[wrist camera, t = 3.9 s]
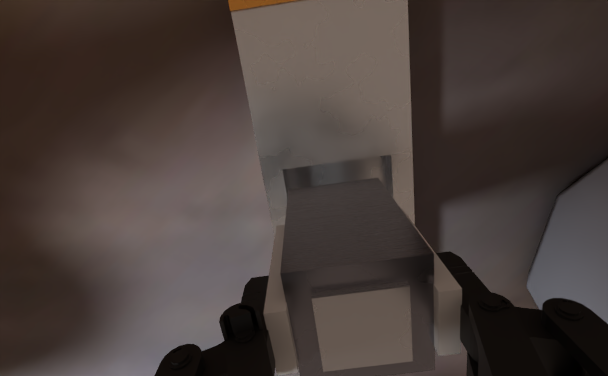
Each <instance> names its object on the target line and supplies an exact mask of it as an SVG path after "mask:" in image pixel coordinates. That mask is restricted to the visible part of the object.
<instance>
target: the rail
mask: <svg viewBox="0 0 608 376" xmlns="http://www.w3.org/2000/svg"><path fill="white" fill-rule="evenodd" d="M228 3H229V8H230V11H231V15H232V20H233V25H234V30H235V35H236V40H237V46H238V51H239V56H240V61H241V66H242V71H243V77H244V82H245V87H246V92H247V97H248V103H249V108H250V113H251V118H252V123H253V128H254V134H255V139H256V144H257V149H258V154H259V159H260V165H261V170H262V175H263V180H264V185H265V191H266V196H267V201H268V206H269V211H270V216H271V222H272V227H273V232H274V237H275V232H276V226H277V225H284V224H285V218H286V208H287V197H288V190H291V189H298V188H305V187H313V186H320V185H327V184H334V183H342V182H349V181H356V180H363V179H371V178H379V180H380V181H381V182H382V184H383V185H384V186H385V188H386V189H387V190H388V192H389V193H390V195H391V196H392V197H393V199H394V200H395V201H396V203H397V204H398V205H399V207H400V208H401V209H403V210H404V211H405V213H406V214H407V215H408V217H409V218H410V219H411V221H412V222H413V224H414V225H415V215H414V183H413V151H412V119H411V88H410V56H409V24H408V0H228Z"/></svg>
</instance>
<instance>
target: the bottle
mask: <svg viewBox="0 0 608 376" xmlns="http://www.w3.org/2000/svg"><path fill="white" fill-rule="evenodd" d="M527 288H528V290H529V292H530V294H531V295H532V297H533V299H534V301H535V303H536V304H537V306H538V308H539V310H542V305H543V303H544V302H545V301H546V300H548V299H551V298H564V299H569V300H573V301H576V302H578V303H581V304H583V305H584V306H586V307H588V308H589V309H591V310H592V311H593V312H594V313H595V314H597V315H598V316H599V317H600V318H601V319H603V320H604V321H605V322H606V323H607V324H608V158H607V159H606V160H605V161H603V162H602V163H601V164H599V165H598V166H597V167H595V168H594V169H592V170H591V171H590V172H588V173H587V174H586V175H584V176H583V177H582V178H580V179H579V180H578V181H576V182H575V183H574V184H572V185H571V186H570V187H568V188H567V189H566V190H564V191H563V192H561V193H560V194H559V195H557V197H556V200H555V203H554V205H553V208H552V211H551V214H550V216H549V219H548V222H547V224H546V227H545V230H544V233H543V235H542V238H541V241H540V243H539V246H538V249H537V251H536V254H535V257H534V260H533V262H532V265H531V268H530V270H529V275H528V281H527Z"/></svg>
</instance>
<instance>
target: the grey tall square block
mask: <svg viewBox="0 0 608 376" xmlns="http://www.w3.org/2000/svg"><path fill="white" fill-rule="evenodd" d="M280 275H281V280H282V285H283V290H284V295H285V301H286V302H287V307H288V312H289V317H290V323H291V328H292V333H293V338H294V343H295V348H296V353H297V359H298V367H299V372H300V376H387V375H396V374H405V373H413V372H422V371H430V370H435V347H434V253H433V252H432V250H431V249H430V248H429V246H428V245H427V243H426V242H425V241H424V239H423V238H422V237H421V235H420V234H419V233H418V231H417V230H416V229H415V227H414V226H413V224H412V223H411V222H410V220H409V219H408V218H407V216H406V215H405V214H404V212H403V211H402V209H401V208H400V207H399V205H398V204H397V203H396V201H395V200H394V199H393V197H392V196H391V195H390V193H389V192H388V190H387V189H386V188H385V186H384V185H383V184H382V182H381V181H380V180H379V178H371V179H363V180H356V181H349V182H342V183H334V184H327V185H320V186H313V187H305V188H298V189H291V190H288V197H287V208H286V218H285V229H284V239H283V250H282V260H281V271H280Z"/></svg>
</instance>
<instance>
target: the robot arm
mask: <svg viewBox="0 0 608 376" xmlns="http://www.w3.org/2000/svg"><path fill="white" fill-rule="evenodd" d="M402 211H403V212H404V214H405V215H406V216H407V218H408V219H409V220H410V222H411V223H412V224H413V222H412V221H411V219H410V218H409V217H408V215H407V214H406V213H405V211H404V210H403V209H402ZM413 226H414V227H415V229H416V230H417V231H418V233H419V234H420V235H421V237H422V238H423V239H424V241H425V242H426V243H427V245H428V246H429V248H430V249H431V250H432V252H433V253H434V347H435V349H436V351H437V353H438V355H439V356H444V355H452V354H461V342H462V343H463V345H464V347H465V348H466V350H467V376H608V324H607V323H606V322H605V321H604V320H603V319H601V318H600V317H599V316H598V315H597V314H595V313H594V312H593V311H592V310H591V309H589V308H588V307H586V306H584V305H583V304H581V303H578V302H576V301H573V300H569V299H564V298H551V299H548V300H546V301H545V302H544V303H543V305H542V310H538V309H528V308H520V307H515V306H514V305H513V304H512V303H511V302H510V301H509V300H508V299H506V298H505V297H503V296H501V295H498V294H495V293H491V292H490V291H489V290H488V289H487V288H486V286H485V285H484V284H483V283H482V282H481V281H480V279H479V278H478V277H477V276H476V275H475V274H474V272H472V270H471V269H470V268H469V267H468V266H467V264H466V263H465V262H464V261H463V260H462V259H461V257H459V256H457V255H455V254H454V253H452V252H442V253H435V252H434V250H433V249H432V248H431V246H430V245H429V244H428V242H427V241H426V240H425V238H424V237H423V236H422V234H421V233H420V232H419V230H418V229H417V228H416V226H415V225H414V224H413ZM284 229H285V224H284V225H277V226H276V232H275V239H274V245H273V252H272V259H271V266H270V272H269V276H263V277H255V278H251V279H250V281H249V282H248V283H247V284H246V285H245V288H244V292H243V296H242V300H241V303H239V304H236V305H233V306H231V307H229V308H228V309H227V310H225V311H224V313H223V314H222V315H221V317H220V321H219V323H220V326H221V330H222V333H223V337H224V340H225V341H224V342H222V343H221V344H219V345H217V346H215V347H212V348H210V349H207V350H204V351H202V352H201V350H200V348H199V347H198V346H196V345H194V344H185V345H182V346H179V347H177V348H175V349H173V350H171V351H170V352H169V353H168V354H167V355H166V356H165V357H164V358H163V360H162V361H161V363H160V365H159V367H158V369H157V372H156V374H155V376H274V373H275V368H276V372H277V375H283V374H292V373H298V359H297V353H296V348H295V343H294V338H293V333H292V328H291V323H290V317H289V312H288V307H287V302H286V301H285V295H284V290H283V285H282V280H281V275H280V271H281V260H282V250H283V239H284Z"/></svg>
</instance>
